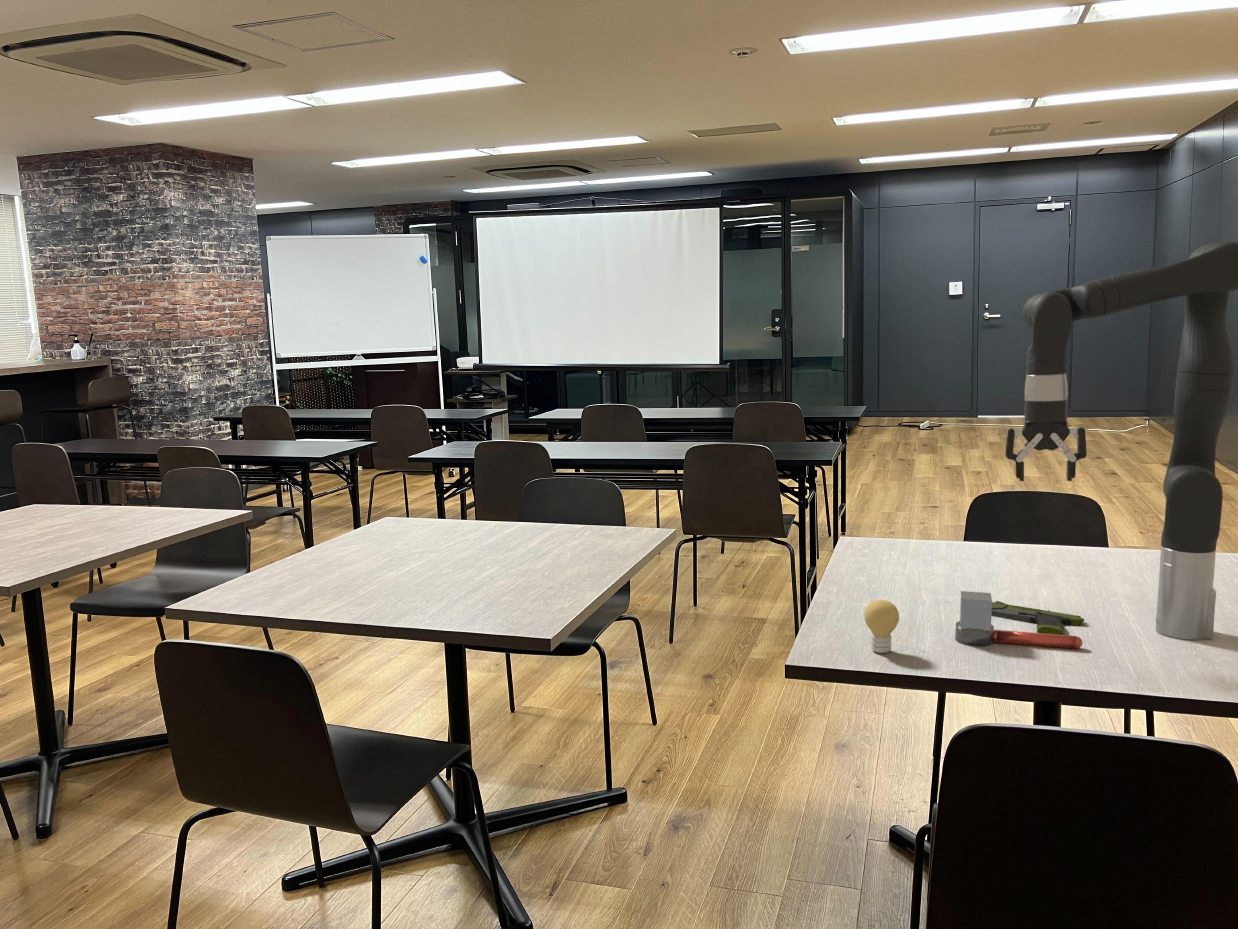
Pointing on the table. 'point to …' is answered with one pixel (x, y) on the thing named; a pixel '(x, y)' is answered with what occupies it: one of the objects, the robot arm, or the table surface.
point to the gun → (1037, 617)
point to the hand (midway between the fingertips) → (1044, 480)
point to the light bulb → (881, 624)
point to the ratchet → (1014, 638)
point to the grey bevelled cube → (975, 611)
